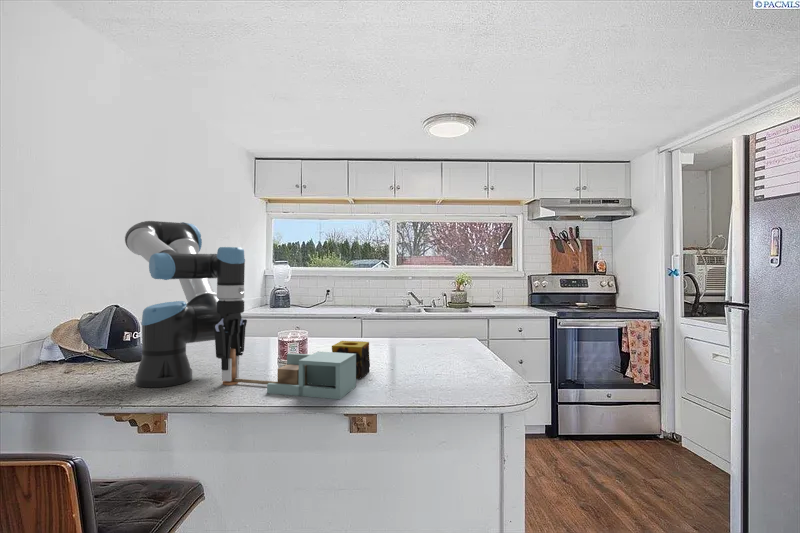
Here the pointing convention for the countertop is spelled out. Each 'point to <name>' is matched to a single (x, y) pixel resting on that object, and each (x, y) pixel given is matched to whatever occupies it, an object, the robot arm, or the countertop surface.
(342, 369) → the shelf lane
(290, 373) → the tethered block
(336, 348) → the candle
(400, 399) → the countertop surface
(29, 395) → the countertop surface
